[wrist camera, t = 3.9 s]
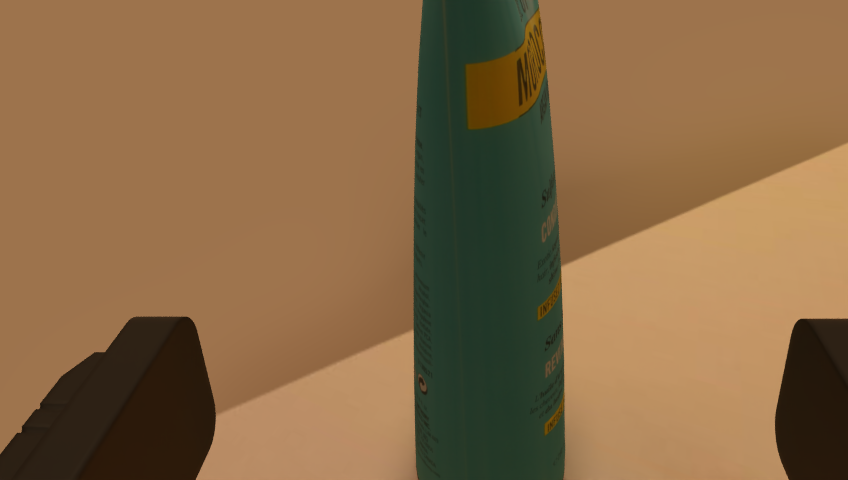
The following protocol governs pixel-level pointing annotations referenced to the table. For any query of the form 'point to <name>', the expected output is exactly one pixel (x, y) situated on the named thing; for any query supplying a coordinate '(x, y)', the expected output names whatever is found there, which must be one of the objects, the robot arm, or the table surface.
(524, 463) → the tube
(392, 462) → the table surface
